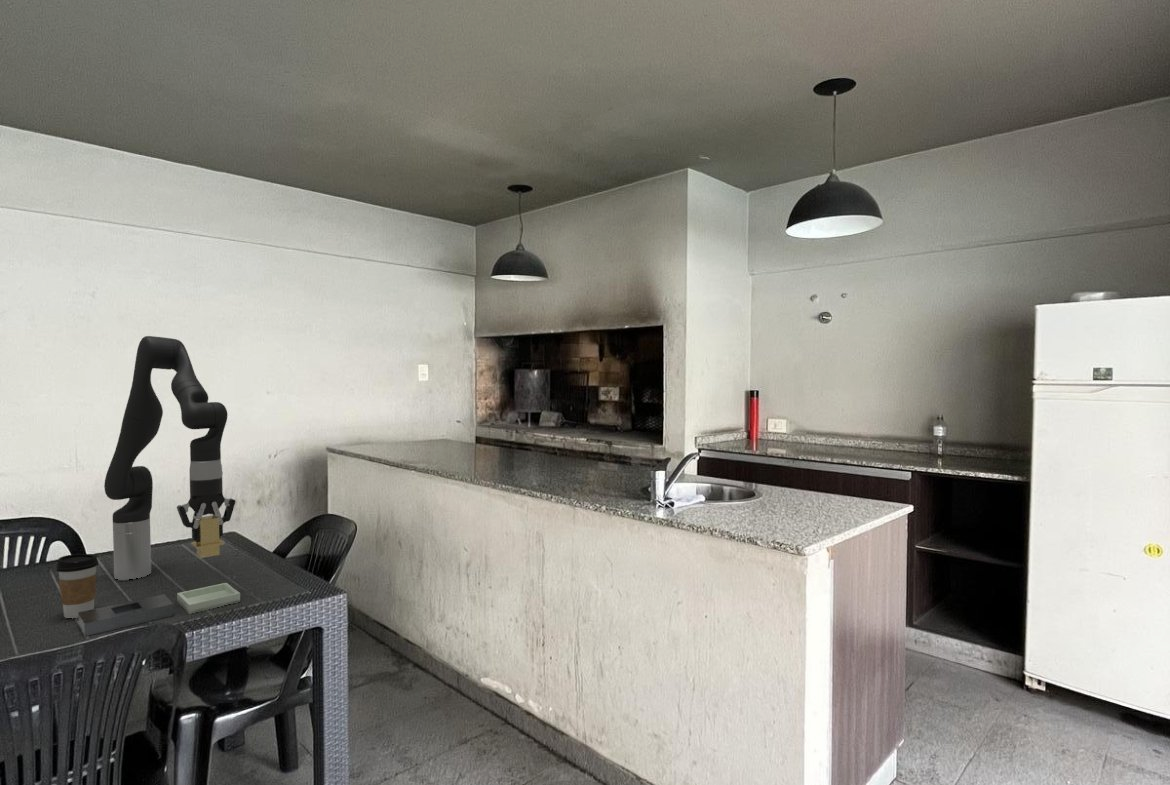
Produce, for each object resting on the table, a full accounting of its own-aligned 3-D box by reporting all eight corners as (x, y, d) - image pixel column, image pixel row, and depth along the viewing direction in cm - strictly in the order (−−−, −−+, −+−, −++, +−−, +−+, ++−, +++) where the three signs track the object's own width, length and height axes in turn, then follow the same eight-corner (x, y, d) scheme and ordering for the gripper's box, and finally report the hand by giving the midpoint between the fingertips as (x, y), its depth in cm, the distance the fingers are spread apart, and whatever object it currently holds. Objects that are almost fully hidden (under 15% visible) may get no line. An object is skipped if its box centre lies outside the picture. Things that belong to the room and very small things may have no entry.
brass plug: (191, 554, 171) (190, 517, 171) (217, 549, 176) (217, 514, 175) (197, 559, 166) (196, 521, 166) (224, 554, 171) (224, 517, 171)
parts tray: (177, 602, 171) (177, 593, 171) (226, 591, 180) (226, 582, 180) (189, 614, 163) (189, 604, 163) (240, 602, 171) (240, 593, 171)
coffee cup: (73, 608, 167) (71, 552, 166) (107, 607, 167) (105, 551, 167) (49, 621, 158) (47, 562, 158) (85, 620, 159) (83, 561, 159)
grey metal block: (78, 624, 157) (78, 612, 156) (164, 605, 169) (164, 594, 169) (84, 636, 150) (84, 623, 149) (173, 615, 162) (173, 603, 162)
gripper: (231, 472, 178) (232, 532, 179) (171, 478, 168) (173, 542, 168) (239, 475, 173) (241, 537, 173) (178, 481, 163) (180, 548, 163)
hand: (207, 539), depth 171 cm, fingers closed on brass plug, 4 cm apart
